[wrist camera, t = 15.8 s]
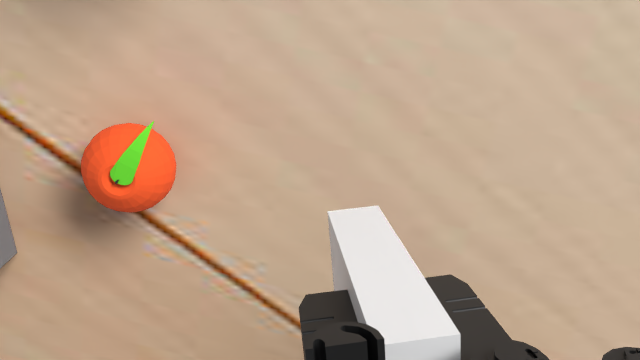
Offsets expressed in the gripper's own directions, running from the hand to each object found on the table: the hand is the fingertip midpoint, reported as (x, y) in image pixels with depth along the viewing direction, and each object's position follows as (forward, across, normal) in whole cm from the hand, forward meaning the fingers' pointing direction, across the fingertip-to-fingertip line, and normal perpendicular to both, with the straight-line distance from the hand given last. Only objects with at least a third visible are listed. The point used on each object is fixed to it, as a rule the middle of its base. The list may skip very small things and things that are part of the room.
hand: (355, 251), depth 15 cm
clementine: (+29, +13, +2) cm, 32 cm away
